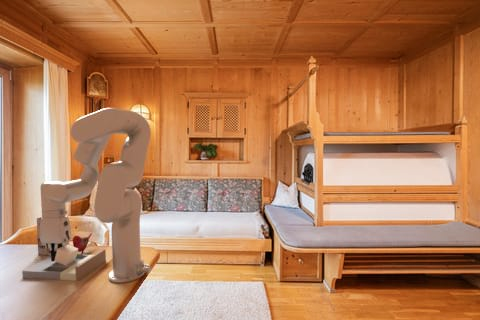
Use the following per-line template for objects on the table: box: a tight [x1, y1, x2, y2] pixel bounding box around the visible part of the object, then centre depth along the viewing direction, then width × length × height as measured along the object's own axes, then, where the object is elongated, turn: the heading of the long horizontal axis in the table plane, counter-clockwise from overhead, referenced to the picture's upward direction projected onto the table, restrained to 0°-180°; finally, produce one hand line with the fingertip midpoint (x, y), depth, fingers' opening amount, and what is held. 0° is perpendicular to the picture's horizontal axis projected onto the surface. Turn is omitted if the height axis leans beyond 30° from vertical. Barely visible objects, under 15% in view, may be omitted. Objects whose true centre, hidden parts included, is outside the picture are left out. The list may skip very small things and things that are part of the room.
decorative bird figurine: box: [72, 232, 93, 254], centre depth 121 cm, size 3×18×10 cm, turn 5°
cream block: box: [54, 244, 79, 266], centre depth 106 cm, size 5×5×5 cm
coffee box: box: [36, 216, 51, 256], centre depth 124 cm, size 9×6×16 cm
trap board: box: [22, 249, 107, 281], centre depth 106 cm, size 22×16×5 cm
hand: (56, 259), depth 107 cm, fingers closed
